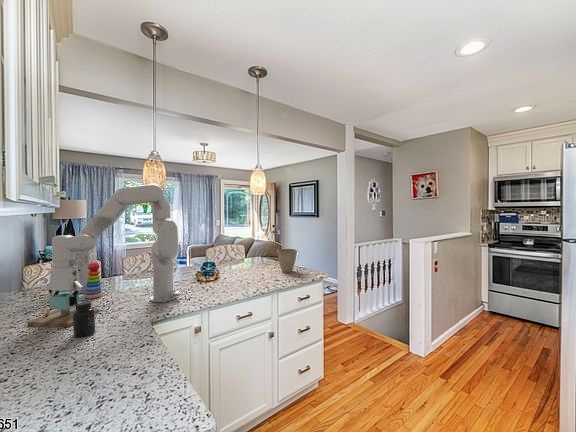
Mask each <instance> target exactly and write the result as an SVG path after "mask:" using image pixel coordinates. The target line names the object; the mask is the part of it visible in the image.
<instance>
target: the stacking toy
mask: <svg viewBox="0 0 576 432" xmlns="http://www.w3.org/2000/svg"><path fill="white" fill-rule="evenodd" d="M100 266H101V265H100V263H99V262H92V263H90V264H89V266H88V269H89V270H90V271H89V272H88V275H89V276H88V277H87V278H88V280H87V282H88V283H87V284H86V286H87V287H86V291H85V293H84V295H85V299H88V300H89V299H97V298H100V297H102V296H103V292H102V291H103V289H102V285H101V284H102V282H101V275H100V273H101V271H100V270H99V269H100Z"/></svg>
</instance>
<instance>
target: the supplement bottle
mask: <svg viewBox="0 0 576 432" xmlns="http://www.w3.org/2000/svg"><path fill="white" fill-rule="evenodd" d="M74 308H75V309H76V311H75V312H74V313H73V325H72V331H73V336H74V337H75V338H85V337H89V336H91V335H93V334H94V333H95V332H96V314H95V311H94V309H95V308H94V307H92V302H91V301H90V300H82V301H79V303H77V304H76V305H75V306H74Z"/></svg>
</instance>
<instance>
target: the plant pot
mask: <svg viewBox="0 0 576 432" xmlns="http://www.w3.org/2000/svg"><path fill="white" fill-rule="evenodd" d="M276 251H277V252H276V253H277V258H278V262H279V266H280V269H281V272H282V273H292V272H293V270H294V267H295V264H296V259H297V256H298V255H297V254H298V249H295V248H294V249H293V248H278V249H277V250H276Z"/></svg>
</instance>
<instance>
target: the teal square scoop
mask: <svg viewBox="0 0 576 432" xmlns="http://www.w3.org/2000/svg"><path fill="white" fill-rule="evenodd" d="M72 292H73V291H72ZM73 293H74V292H73ZM69 297H71V296H70V294H69V292H68V291H62V292H61V293H60V292H59V294H57V295H55V296H49V310H58V309H68V308H74V307H75V305H76V304H75V305H73V306H70V302H69ZM85 299H86V298H85V294H80V293H79V294H78V295H77V303H79V302H82V301H85Z"/></svg>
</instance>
